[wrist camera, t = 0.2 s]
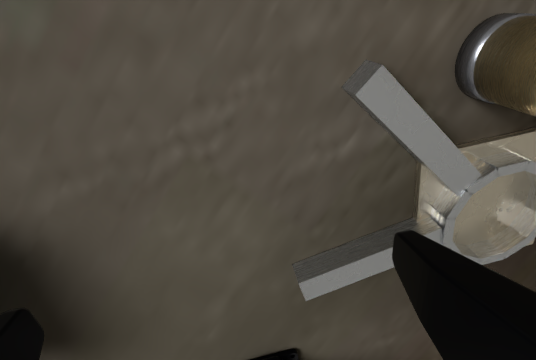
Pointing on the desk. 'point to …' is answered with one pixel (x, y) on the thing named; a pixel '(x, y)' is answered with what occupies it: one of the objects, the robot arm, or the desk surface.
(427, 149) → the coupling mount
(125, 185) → the desk surface
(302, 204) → the desk surface
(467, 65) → the glass jar
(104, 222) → the desk surface
